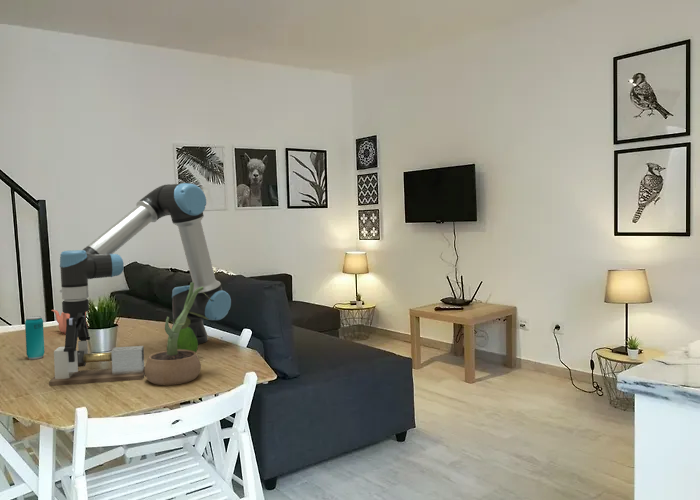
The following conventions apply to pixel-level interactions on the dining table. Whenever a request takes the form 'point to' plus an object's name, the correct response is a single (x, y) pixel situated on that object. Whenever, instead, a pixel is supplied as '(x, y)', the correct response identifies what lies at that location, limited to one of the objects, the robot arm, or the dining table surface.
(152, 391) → the dining table surface
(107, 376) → the board
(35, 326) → the beverage can
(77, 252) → the robot arm
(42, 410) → the dining table surface
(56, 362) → the socket
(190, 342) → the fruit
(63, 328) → the teapot
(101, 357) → the tube
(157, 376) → the potted plant
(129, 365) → the sleeve
